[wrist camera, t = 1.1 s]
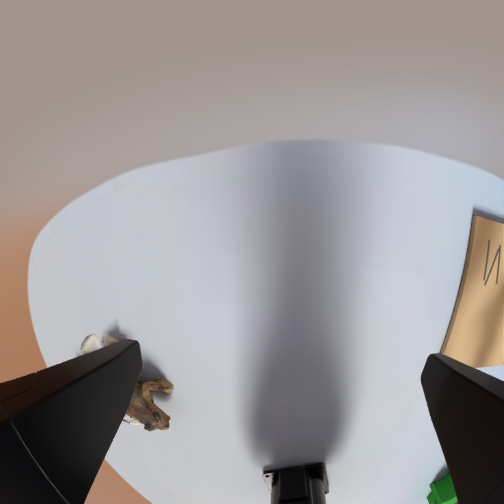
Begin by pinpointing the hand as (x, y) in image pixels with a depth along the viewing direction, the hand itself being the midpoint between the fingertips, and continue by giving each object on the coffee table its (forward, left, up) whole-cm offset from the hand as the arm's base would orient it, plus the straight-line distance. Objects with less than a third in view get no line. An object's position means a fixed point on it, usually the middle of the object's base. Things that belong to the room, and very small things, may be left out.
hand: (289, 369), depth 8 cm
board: (-9, -21, -14) cm, 26 cm away
